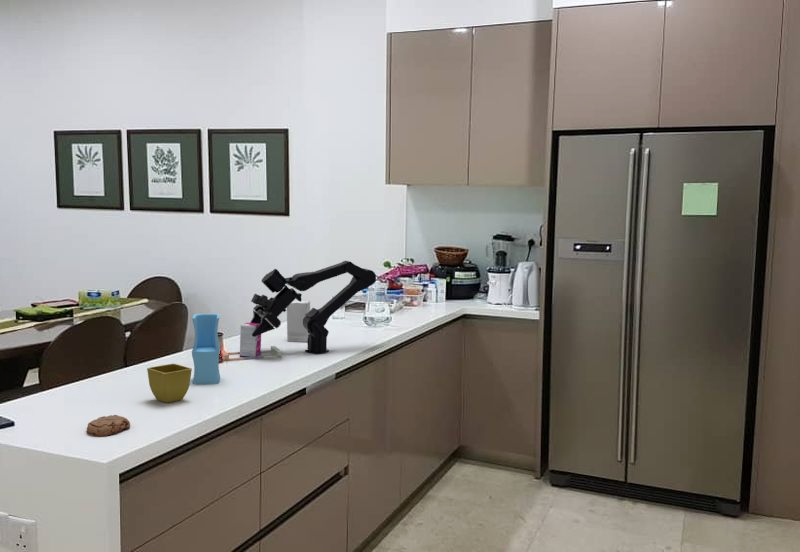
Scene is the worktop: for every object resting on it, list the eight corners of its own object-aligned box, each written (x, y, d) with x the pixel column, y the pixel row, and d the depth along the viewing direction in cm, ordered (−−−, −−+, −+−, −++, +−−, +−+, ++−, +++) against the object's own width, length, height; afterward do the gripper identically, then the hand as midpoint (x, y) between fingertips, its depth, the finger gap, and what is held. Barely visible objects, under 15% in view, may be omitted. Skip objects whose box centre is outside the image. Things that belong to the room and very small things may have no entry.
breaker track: (274, 351, 267) (274, 345, 267) (282, 357, 258) (282, 351, 257) (219, 354, 259) (219, 349, 259) (224, 361, 250) (224, 355, 249)
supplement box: (255, 358, 255) (255, 326, 254) (239, 357, 256) (239, 324, 255) (261, 355, 260) (261, 323, 259) (245, 353, 262) (246, 322, 260)
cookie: (80, 438, 170) (80, 426, 170) (91, 424, 181) (91, 412, 180) (125, 437, 172) (125, 424, 172) (133, 423, 183) (133, 411, 182)
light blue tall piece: (192, 384, 219) (191, 318, 217) (194, 377, 227) (193, 313, 225) (219, 383, 221) (219, 318, 218) (220, 377, 228) (220, 313, 226)
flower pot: (174, 393, 209) (174, 362, 208) (192, 399, 203) (192, 368, 202) (146, 399, 202) (146, 367, 201) (164, 406, 196) (164, 373, 195)
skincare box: (310, 339, 290) (311, 300, 288) (307, 342, 284) (307, 303, 282) (290, 338, 291) (290, 299, 289) (285, 341, 284) (286, 302, 283)
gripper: (259, 282, 266) (228, 313, 263) (272, 289, 249) (239, 322, 246) (280, 303, 270) (249, 334, 267) (294, 311, 253) (261, 344, 250)
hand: (249, 333), depth 257 cm, fingers open, 9 cm apart
